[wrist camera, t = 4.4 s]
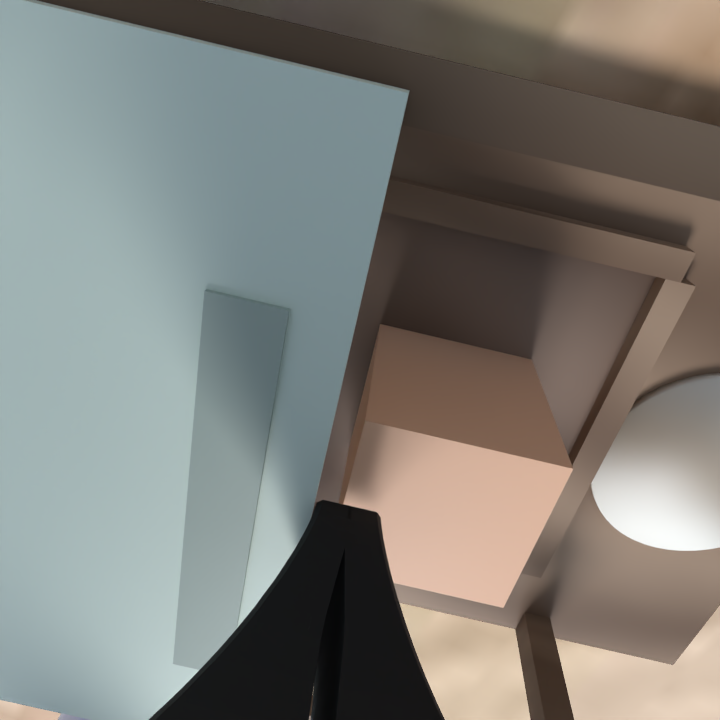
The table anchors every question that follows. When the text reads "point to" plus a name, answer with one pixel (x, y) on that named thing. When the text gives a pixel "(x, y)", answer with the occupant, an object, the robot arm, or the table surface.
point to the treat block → (454, 463)
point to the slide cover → (165, 339)
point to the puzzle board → (546, 319)
